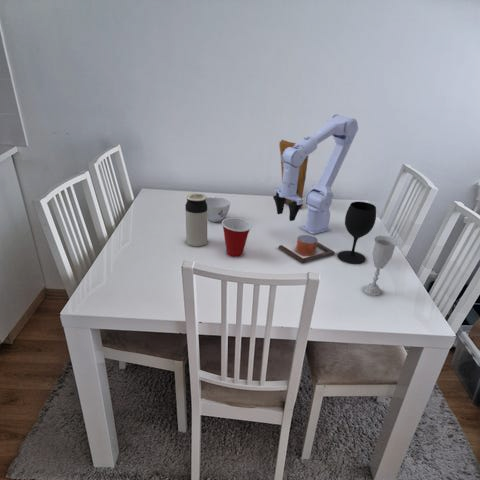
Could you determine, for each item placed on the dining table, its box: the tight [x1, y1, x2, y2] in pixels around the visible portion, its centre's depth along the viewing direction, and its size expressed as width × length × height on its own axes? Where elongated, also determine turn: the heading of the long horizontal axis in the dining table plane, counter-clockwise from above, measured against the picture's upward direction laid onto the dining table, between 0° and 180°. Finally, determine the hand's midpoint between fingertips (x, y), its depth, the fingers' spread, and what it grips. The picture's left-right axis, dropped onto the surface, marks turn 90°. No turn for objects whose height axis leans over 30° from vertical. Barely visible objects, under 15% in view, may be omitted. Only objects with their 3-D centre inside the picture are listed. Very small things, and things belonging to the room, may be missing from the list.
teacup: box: [206, 196, 231, 223], centre depth 178 cm, size 15×12×8 cm
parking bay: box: [278, 241, 336, 265], centre depth 158 cm, size 16×14×1 cm
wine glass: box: [337, 201, 377, 265], centre depth 150 cm, size 10×10×20 cm
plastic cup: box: [221, 217, 253, 258], centre depth 151 cm, size 11×11×12 cm
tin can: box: [295, 234, 318, 257], centre depth 157 cm, size 8×8×5 cm
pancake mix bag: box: [278, 139, 309, 210], centre depth 193 cm, size 7×19×28 cm, turn 30°
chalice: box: [363, 235, 399, 296], centre depth 131 cm, size 7×7×18 cm
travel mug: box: [185, 192, 208, 247], centre depth 155 cm, size 8×8×18 cm
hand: (285, 217), depth 163 cm, fingers open, 7 cm apart
